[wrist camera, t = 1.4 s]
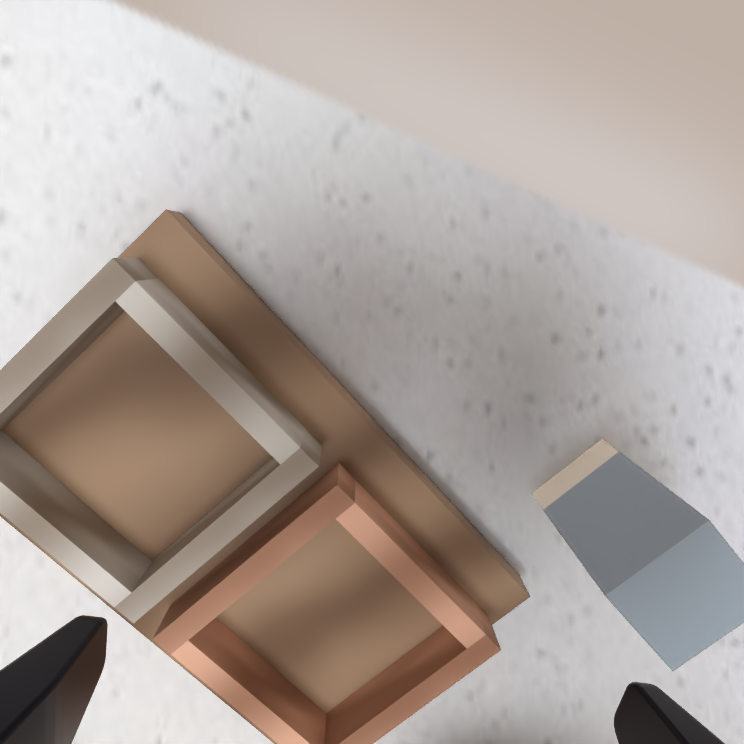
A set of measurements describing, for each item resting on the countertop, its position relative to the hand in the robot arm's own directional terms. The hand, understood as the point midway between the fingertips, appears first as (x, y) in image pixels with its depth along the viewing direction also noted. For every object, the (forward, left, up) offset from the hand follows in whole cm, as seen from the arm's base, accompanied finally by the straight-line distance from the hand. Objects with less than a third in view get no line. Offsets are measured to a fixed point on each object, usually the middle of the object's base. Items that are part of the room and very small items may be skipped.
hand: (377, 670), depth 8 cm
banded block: (-10, -5, -14) cm, 18 cm away
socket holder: (0, +7, -14) cm, 15 cm away
